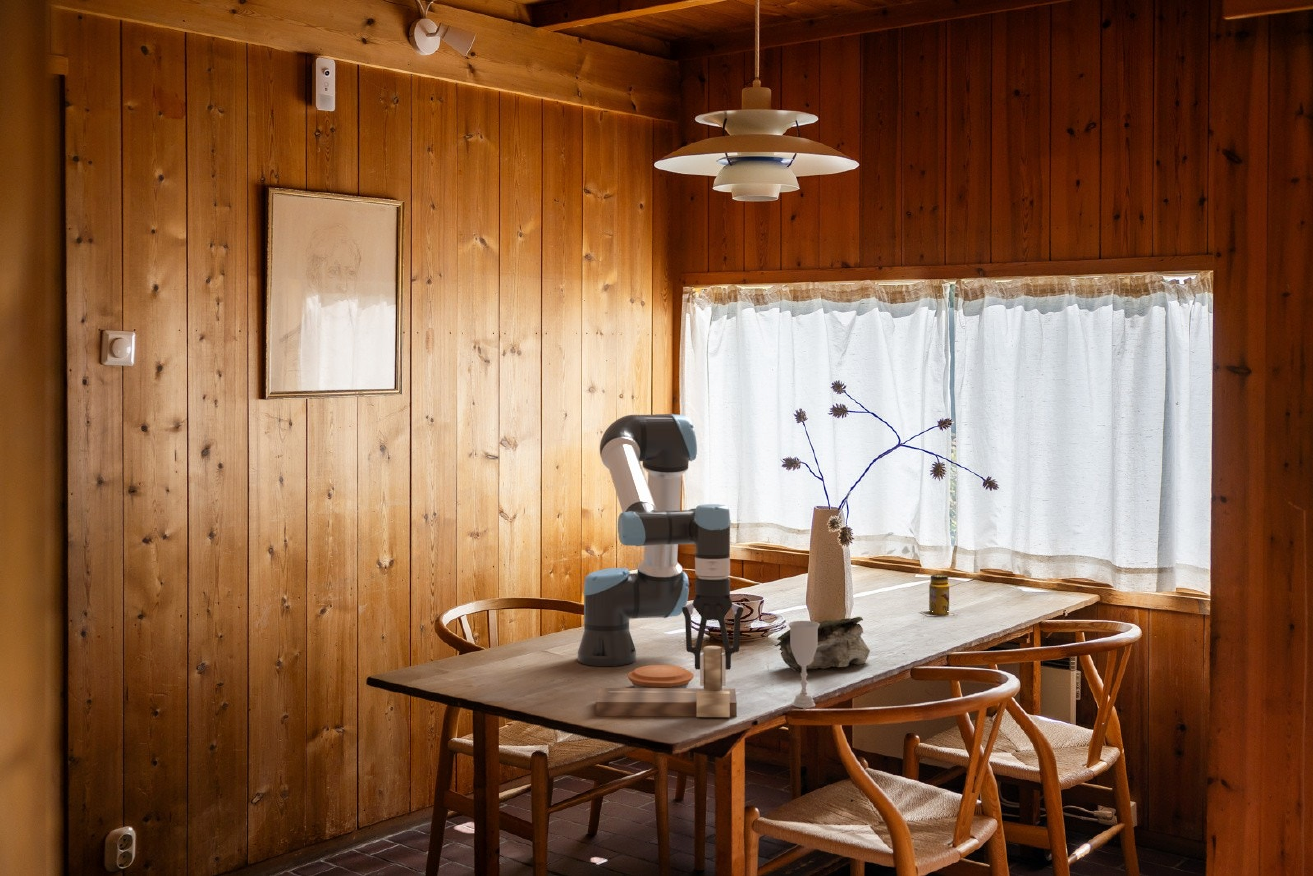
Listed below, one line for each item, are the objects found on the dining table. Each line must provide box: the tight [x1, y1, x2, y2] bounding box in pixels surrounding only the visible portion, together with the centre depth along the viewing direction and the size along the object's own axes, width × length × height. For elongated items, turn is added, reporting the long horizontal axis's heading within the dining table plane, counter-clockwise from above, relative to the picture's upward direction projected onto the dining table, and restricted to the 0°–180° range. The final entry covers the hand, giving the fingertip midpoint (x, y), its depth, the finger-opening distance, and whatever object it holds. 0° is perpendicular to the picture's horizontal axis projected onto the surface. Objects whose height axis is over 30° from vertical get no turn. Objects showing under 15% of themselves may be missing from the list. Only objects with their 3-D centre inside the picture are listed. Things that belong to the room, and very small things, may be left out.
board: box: [595, 687, 738, 718], centre depth 264 cm, size 30×12×3 cm, turn 88°
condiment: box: [918, 574, 954, 617], centre depth 373 cm, size 7×8×12 cm
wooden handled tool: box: [696, 645, 731, 718], centre depth 261 cm, size 7×11×14 cm, turn 178°
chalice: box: [787, 620, 820, 709], centre depth 266 cm, size 7×7×18 cm
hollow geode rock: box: [774, 616, 871, 674], centre depth 301 cm, size 28×13×15 cm
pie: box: [627, 664, 695, 688], centre depth 281 cm, size 15×16×5 cm
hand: (712, 684), depth 261 cm, fingers closed on wooden handled tool, 4 cm apart
